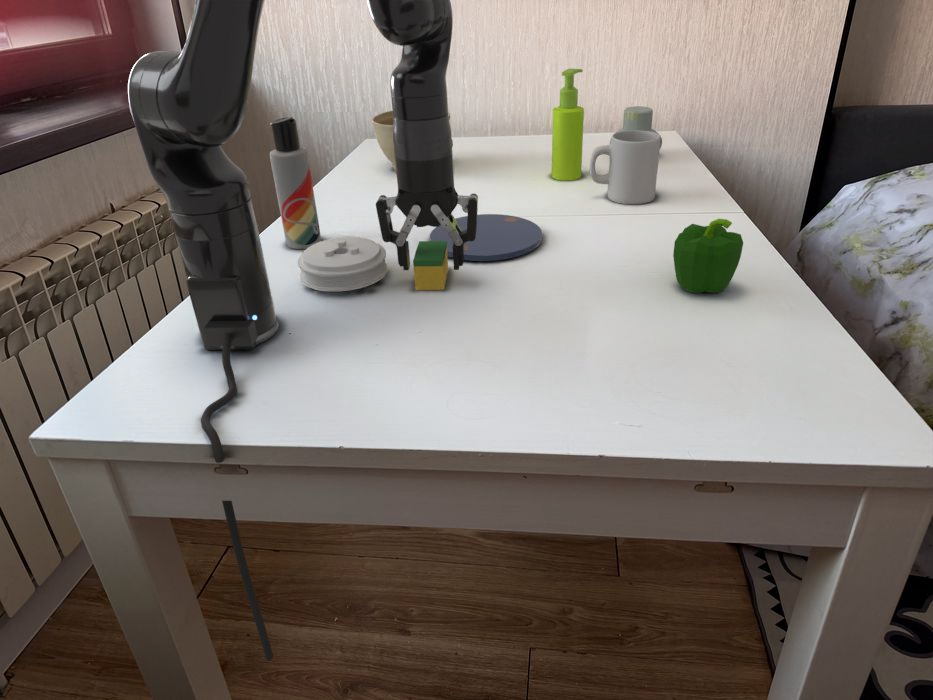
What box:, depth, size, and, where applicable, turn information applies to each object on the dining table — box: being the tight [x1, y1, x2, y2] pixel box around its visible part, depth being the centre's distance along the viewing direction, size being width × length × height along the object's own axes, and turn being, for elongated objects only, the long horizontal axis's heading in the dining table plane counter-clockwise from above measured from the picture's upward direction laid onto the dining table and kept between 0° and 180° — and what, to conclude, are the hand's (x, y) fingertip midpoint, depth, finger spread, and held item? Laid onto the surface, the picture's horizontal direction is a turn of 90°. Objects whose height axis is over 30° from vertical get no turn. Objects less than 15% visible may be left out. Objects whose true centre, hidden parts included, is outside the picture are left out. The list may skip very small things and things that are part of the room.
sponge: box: [412, 240, 449, 291], centre depth 99 cm, size 7×4×4 cm, turn 176°
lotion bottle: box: [269, 116, 322, 250], centre depth 109 cm, size 6×6×20 cm
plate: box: [429, 213, 543, 262], centre depth 112 cm, size 18×18×1 cm
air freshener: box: [609, 105, 663, 151], centre depth 147 cm, size 11×8×10 cm
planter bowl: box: [371, 109, 451, 171], centre depth 147 cm, size 16×16×11 cm
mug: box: [589, 130, 661, 205], centre depth 125 cm, size 12×8×11 cm
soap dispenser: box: [551, 68, 585, 182], centre depth 135 cm, size 6×7×20 cm
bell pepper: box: [672, 218, 744, 294], centre depth 92 cm, size 8×8×10 cm
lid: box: [297, 236, 389, 293], centre depth 100 cm, size 13×13×5 cm
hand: (432, 267), depth 99 cm, fingers open, 6 cm apart
